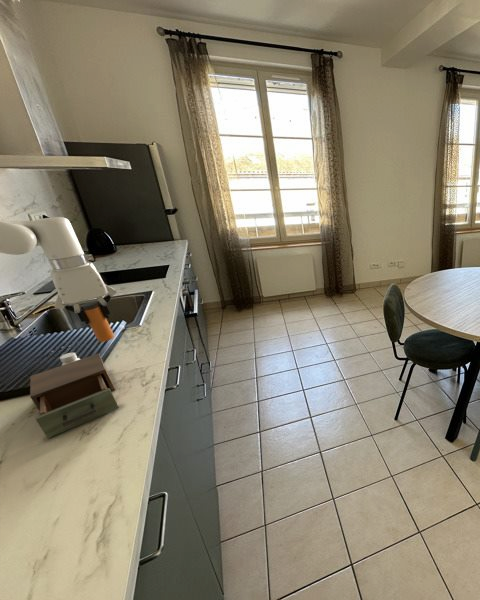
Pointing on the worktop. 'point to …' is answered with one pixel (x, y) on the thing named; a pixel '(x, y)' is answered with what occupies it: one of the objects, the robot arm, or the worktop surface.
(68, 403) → the drawer
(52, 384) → the cabinet
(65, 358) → the pill bottle
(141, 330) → the worktop surface
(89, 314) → the spice jar
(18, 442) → the worktop surface
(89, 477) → the worktop surface
